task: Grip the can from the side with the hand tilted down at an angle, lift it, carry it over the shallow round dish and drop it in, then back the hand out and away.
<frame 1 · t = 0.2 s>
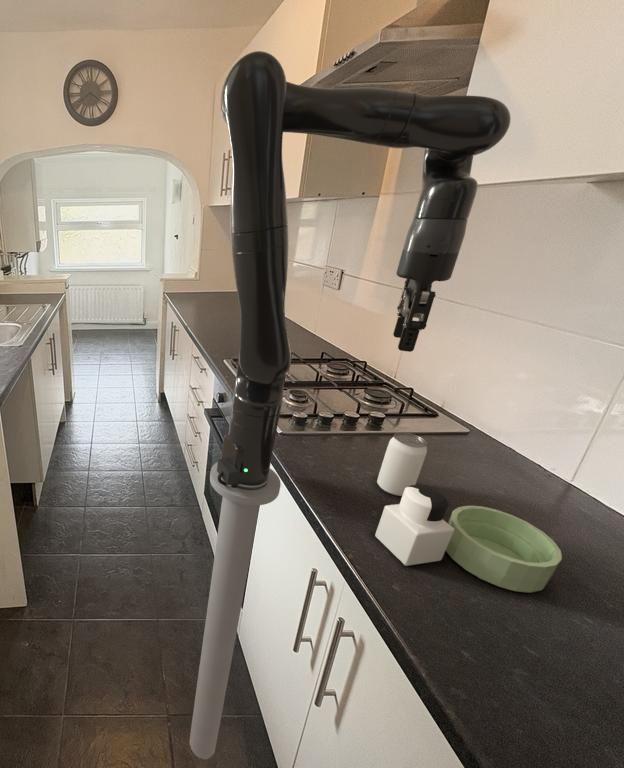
hand: (402, 343, 74), 33 cm above the worktop, tool pointing down, fingers open, 8 cm apart
shallow round dish: (490, 560, 70), on the worktop
can: (393, 488, 88), on the worktop
medicine bottle: (406, 549, 73), on the worktop
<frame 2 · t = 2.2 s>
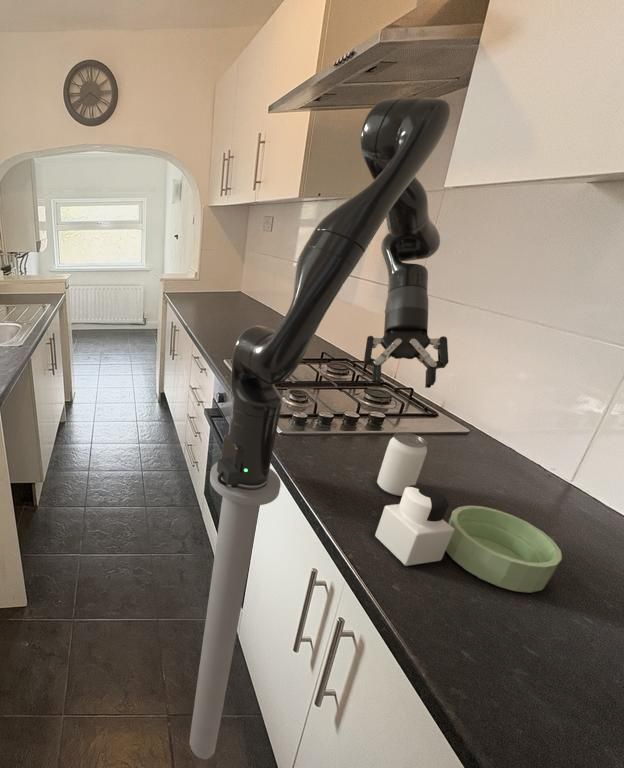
hand: (402, 385, 85), 21 cm above the worktop, tool tilted 35°, fingers open, 8 cm apart
nothing on the worktop moved.
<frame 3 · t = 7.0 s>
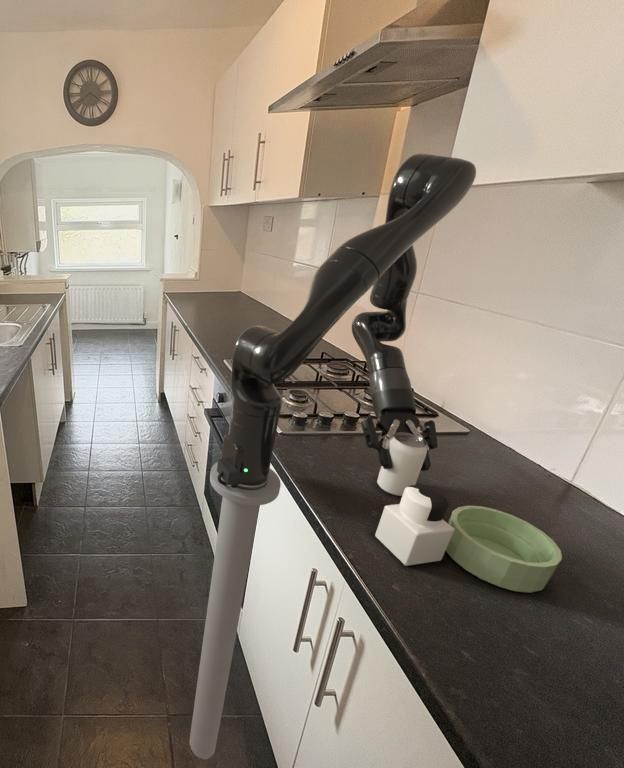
hand: (406, 469, 84), 6 cm above the worktop, tool tilted 45°, fingers closed on can, 6 cm apart
can: (393, 488, 88), on the worktop, touching gripper
everything else where it was.
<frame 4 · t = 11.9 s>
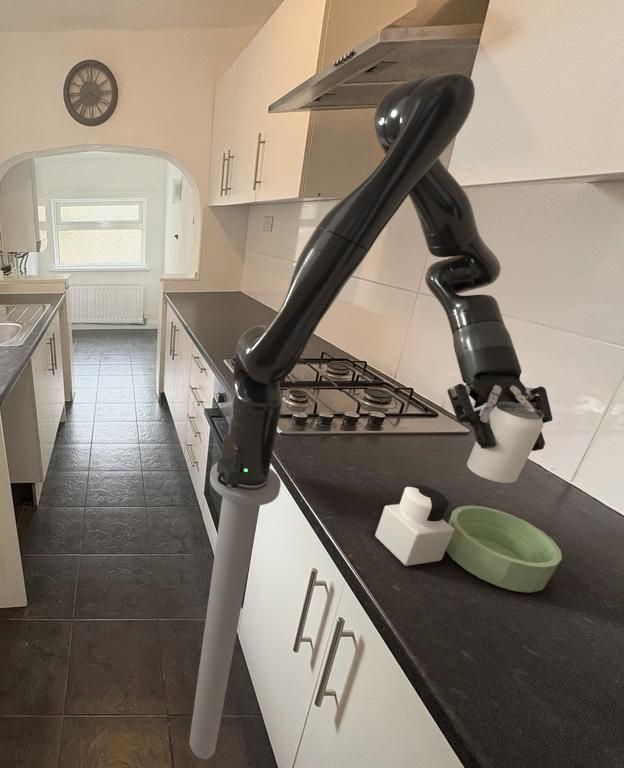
hand: (512, 448, 65), 20 cm above the worktop, tool tilted 45°, fingers closed on can, 6 cm apart
can: (489, 474, 69), point 14 cm above the worktop, touching gripper
everything else where it was.
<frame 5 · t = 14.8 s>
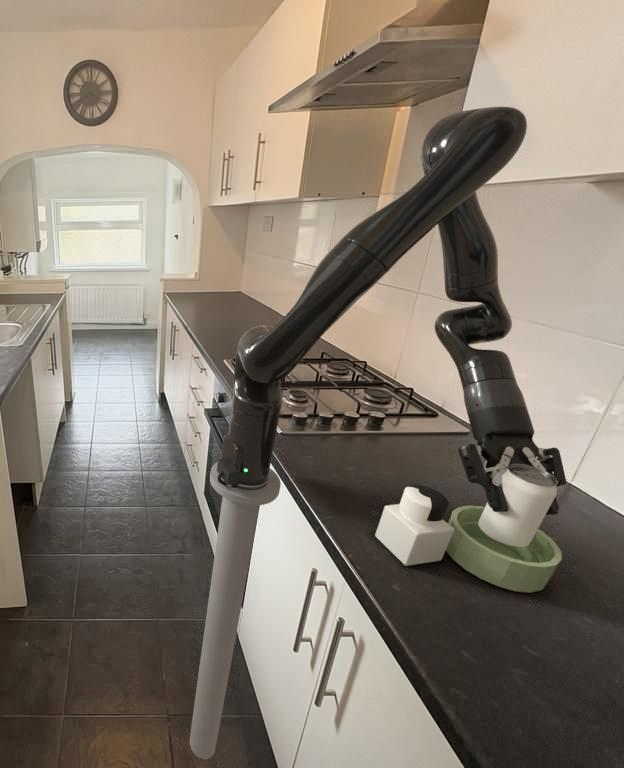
hand: (525, 512, 64), 12 cm above the worktop, tool tilted 45°, fingers closed on can, 6 cm apart
can: (501, 534, 68), point 6 cm above the worktop, touching gripper
everything else where it was.
when the fingers open (6 cm above the worktop, at t = 16.9 s): can stays where it is, resting on shallow round dish.
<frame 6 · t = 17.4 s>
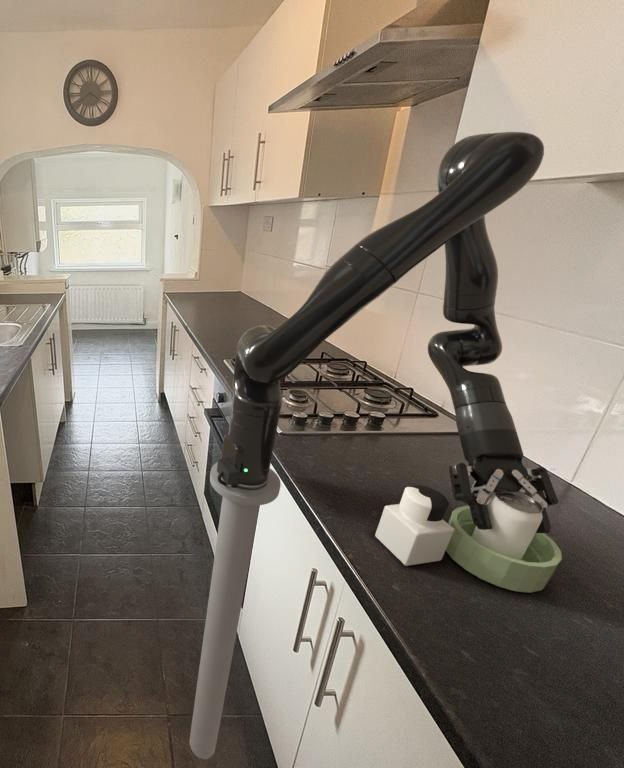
hand: (513, 531, 66), 8 cm above the worktop, tool tilted 45°, fingers open, 8 cm apart
can: (490, 557, 70), resting on shallow round dish
everything else where it was.
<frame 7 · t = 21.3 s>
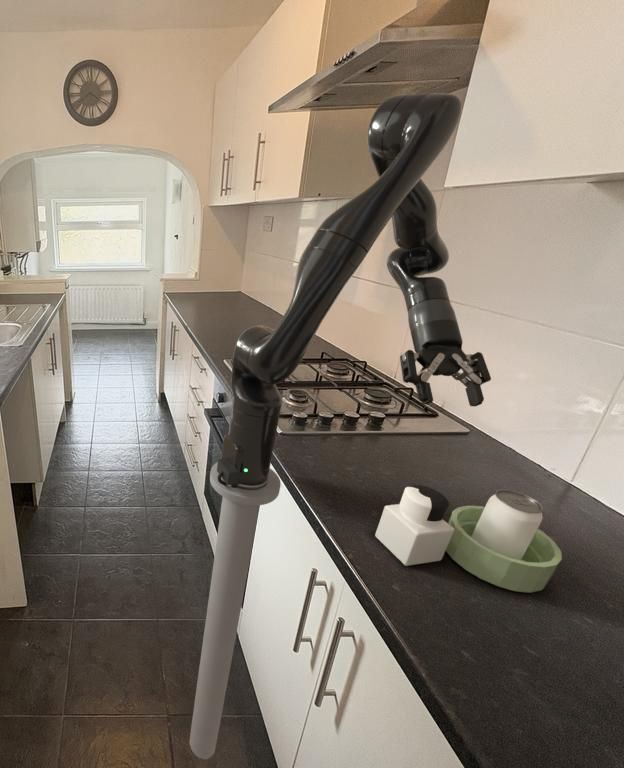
hand: (452, 404, 77), 21 cm above the worktop, tool tilted 45°, fingers open, 8 cm apart
nothing on the worktop moved.
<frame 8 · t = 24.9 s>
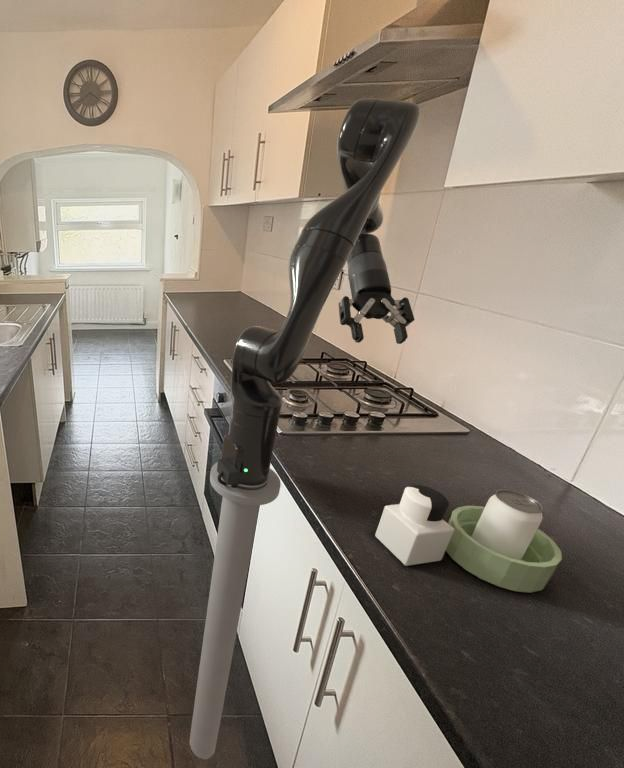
hand: (380, 341, 88), 29 cm above the worktop, tool tilted 45°, fingers open, 8 cm apart
nothing on the worktop moved.
at the end: can inside the target area in the shallow round dish (0.1 cm from its centre), point 0.4 cm above the shallow round dish's base; the gripper is holding nothing; medicine bottle moved 0.2 cm from its start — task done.
